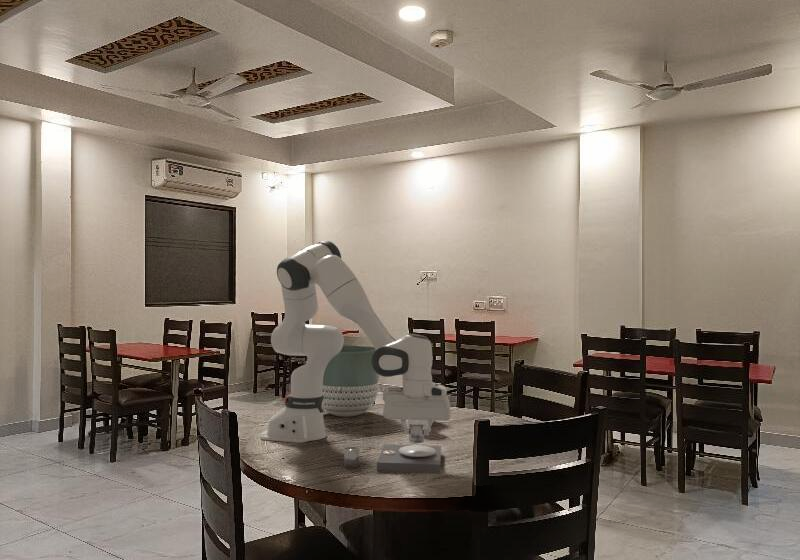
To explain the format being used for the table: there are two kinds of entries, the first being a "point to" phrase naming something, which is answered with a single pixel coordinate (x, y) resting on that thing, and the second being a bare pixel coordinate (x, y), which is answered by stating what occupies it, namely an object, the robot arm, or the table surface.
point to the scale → (410, 459)
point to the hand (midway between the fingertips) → (416, 434)
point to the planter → (350, 381)
